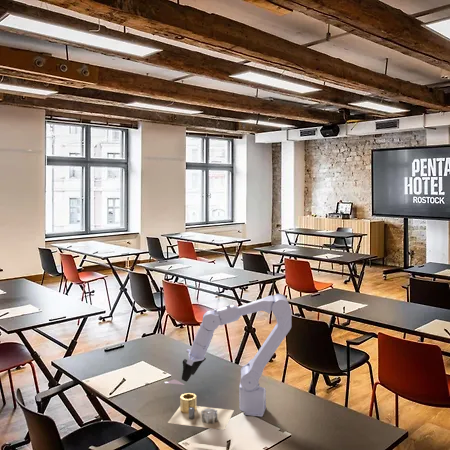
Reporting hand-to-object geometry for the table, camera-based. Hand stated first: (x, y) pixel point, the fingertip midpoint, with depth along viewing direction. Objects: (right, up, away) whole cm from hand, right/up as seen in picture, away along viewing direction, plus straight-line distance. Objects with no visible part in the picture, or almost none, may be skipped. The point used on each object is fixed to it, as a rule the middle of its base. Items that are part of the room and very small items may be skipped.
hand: (187, 377), depth 173 cm
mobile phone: (-6, -11, +20) cm, 24 cm away
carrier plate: (+5, -13, -5) cm, 15 cm away
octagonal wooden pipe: (0, -12, -1) cm, 12 cm away
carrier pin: (+2, -13, -6) cm, 15 cm away
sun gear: (+8, -13, -8) cm, 18 cm away
